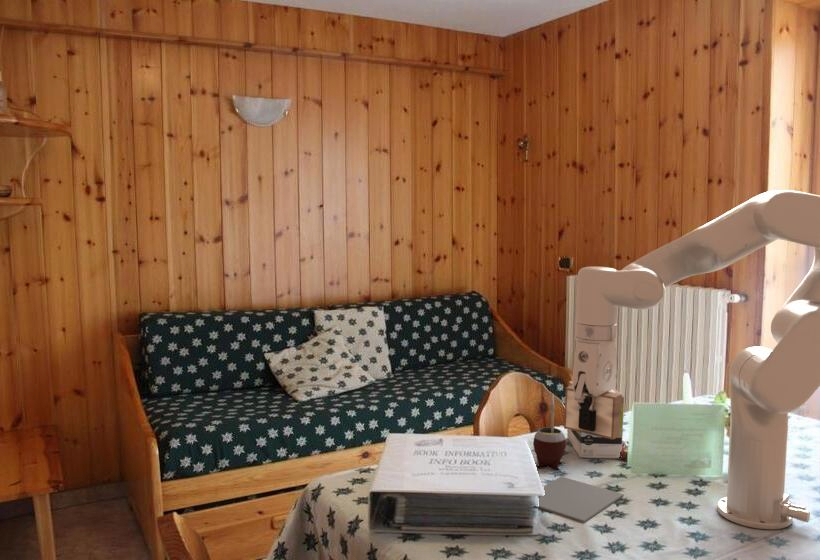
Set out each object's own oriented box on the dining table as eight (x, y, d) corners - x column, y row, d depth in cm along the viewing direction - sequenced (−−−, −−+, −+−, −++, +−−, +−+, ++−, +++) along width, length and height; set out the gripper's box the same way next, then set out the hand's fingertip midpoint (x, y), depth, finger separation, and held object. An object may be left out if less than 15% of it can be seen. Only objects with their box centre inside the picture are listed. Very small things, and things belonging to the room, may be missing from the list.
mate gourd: (545, 473, 152) (546, 406, 151) (524, 461, 159) (525, 397, 158) (573, 468, 155) (575, 401, 154) (551, 456, 162) (553, 393, 161)
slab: (619, 435, 133) (621, 394, 132) (613, 439, 130) (615, 397, 129) (571, 424, 139) (572, 384, 138) (563, 428, 137) (565, 387, 136)
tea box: (623, 459, 161) (625, 396, 159) (579, 459, 161) (580, 395, 160) (606, 437, 176) (608, 379, 174) (566, 437, 176) (567, 379, 175)
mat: (623, 496, 140) (623, 494, 140) (584, 522, 128) (584, 520, 128) (561, 478, 150) (561, 476, 149) (519, 501, 138) (519, 499, 138)
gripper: (595, 341, 124) (590, 442, 126) (632, 329, 136) (627, 421, 138) (556, 335, 129) (553, 433, 131) (595, 324, 141) (591, 414, 143)
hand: (591, 426), depth 134 cm, fingers closed on slab, 3 cm apart
